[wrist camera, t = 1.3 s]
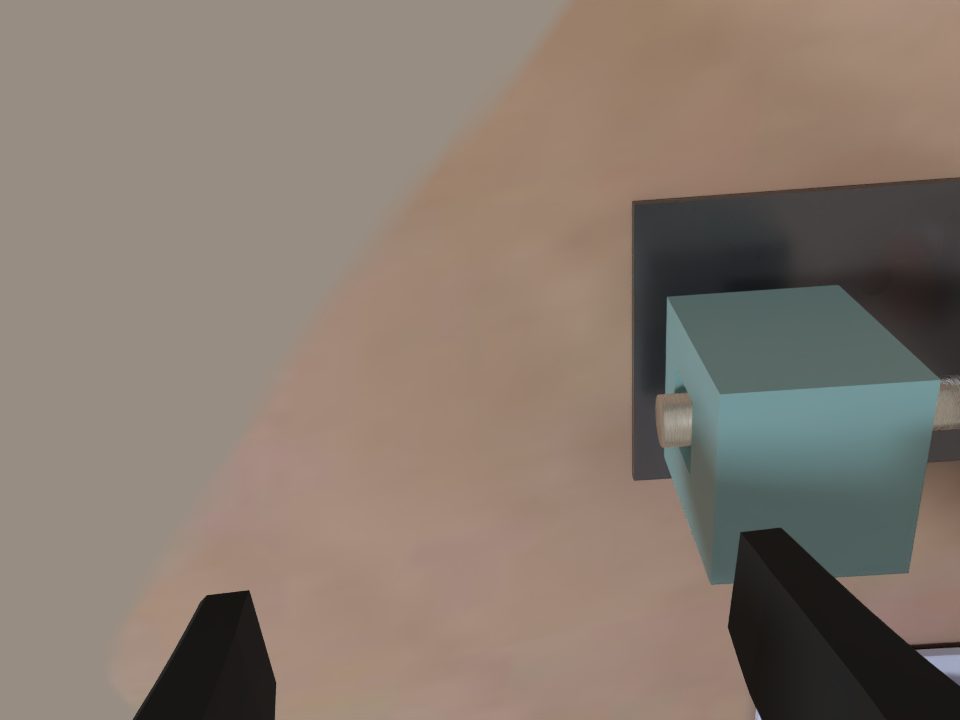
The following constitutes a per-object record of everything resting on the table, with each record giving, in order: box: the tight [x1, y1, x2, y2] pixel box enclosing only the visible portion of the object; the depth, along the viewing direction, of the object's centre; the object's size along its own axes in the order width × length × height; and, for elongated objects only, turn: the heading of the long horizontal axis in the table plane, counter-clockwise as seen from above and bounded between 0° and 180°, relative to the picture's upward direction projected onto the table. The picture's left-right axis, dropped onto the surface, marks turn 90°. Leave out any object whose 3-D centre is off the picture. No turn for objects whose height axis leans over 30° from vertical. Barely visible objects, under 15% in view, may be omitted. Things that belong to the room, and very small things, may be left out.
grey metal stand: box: [632, 178, 960, 481], centre depth 21 cm, size 8×11×6 cm
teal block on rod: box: [664, 285, 941, 585], centre depth 19 cm, size 4×4×5 cm
